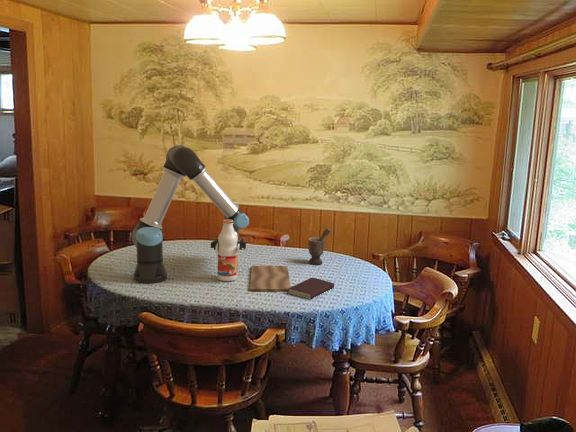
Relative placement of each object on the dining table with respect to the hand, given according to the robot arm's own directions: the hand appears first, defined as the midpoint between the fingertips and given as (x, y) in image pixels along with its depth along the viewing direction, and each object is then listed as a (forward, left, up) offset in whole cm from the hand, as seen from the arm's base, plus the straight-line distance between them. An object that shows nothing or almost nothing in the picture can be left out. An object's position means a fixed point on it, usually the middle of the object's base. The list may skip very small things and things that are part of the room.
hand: (227, 249), depth 244 cm
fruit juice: (0, +4, -15) cm, 16 cm away
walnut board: (+20, +5, -16) cm, 26 cm away
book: (+38, -11, -16) cm, 43 cm away
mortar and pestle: (+46, +32, -16) cm, 58 cm away
